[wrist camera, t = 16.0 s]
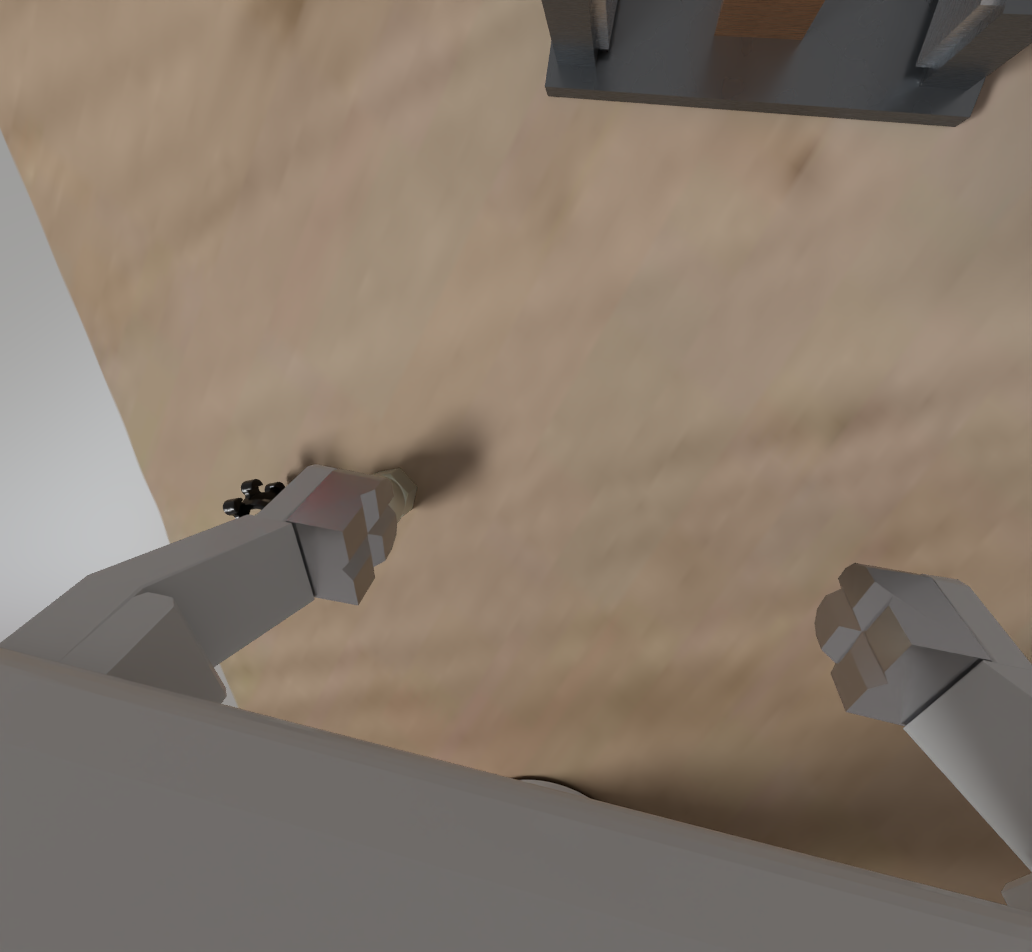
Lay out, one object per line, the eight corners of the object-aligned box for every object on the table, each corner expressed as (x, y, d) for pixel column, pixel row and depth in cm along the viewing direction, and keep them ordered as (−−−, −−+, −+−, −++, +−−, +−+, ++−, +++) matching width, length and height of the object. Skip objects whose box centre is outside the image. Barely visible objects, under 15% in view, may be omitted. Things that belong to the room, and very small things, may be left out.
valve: (408, 443, 33) (276, 469, 36) (358, 466, 27) (205, 495, 30) (431, 526, 35) (303, 544, 38) (389, 566, 28) (240, 584, 32)
